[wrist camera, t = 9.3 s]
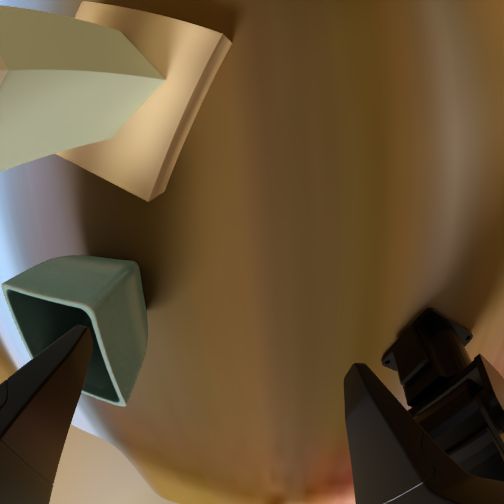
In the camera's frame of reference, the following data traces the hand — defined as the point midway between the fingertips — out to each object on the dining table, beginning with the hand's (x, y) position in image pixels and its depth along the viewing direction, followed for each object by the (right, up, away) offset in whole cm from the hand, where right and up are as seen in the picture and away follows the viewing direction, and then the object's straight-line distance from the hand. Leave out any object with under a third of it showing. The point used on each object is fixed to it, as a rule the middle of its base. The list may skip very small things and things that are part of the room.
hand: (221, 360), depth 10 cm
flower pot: (-10, +1, +15) cm, 19 cm away
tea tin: (-7, +14, +6) cm, 17 cm away
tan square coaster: (-7, +15, +9) cm, 19 cm away
